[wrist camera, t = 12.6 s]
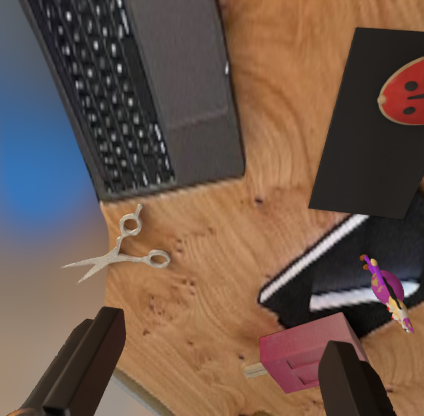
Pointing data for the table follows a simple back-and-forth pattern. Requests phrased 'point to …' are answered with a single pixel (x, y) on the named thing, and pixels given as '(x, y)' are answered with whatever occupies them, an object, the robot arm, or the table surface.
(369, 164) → the desk pad
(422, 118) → the ladybug figurine
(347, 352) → the robot arm
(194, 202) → the table surface
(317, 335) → the popsicle
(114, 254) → the scissors
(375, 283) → the wizard figurine
